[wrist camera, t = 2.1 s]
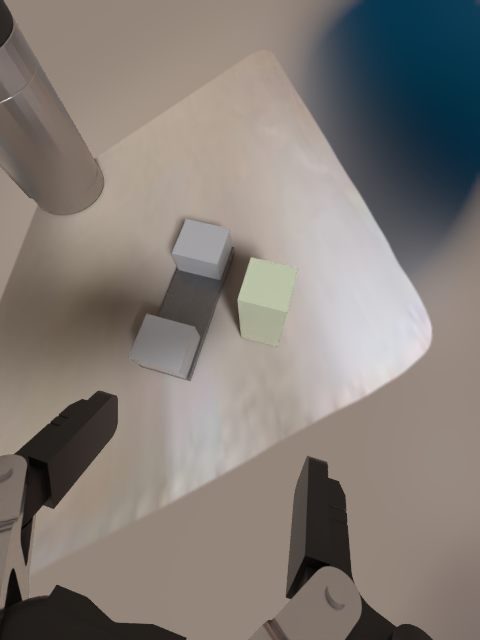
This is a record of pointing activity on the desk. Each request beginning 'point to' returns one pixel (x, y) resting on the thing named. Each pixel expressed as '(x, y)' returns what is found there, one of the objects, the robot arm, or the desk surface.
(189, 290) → the dark gray flat board
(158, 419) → the desk surface
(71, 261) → the desk surface
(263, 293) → the block
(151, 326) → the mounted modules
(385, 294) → the desk surface
